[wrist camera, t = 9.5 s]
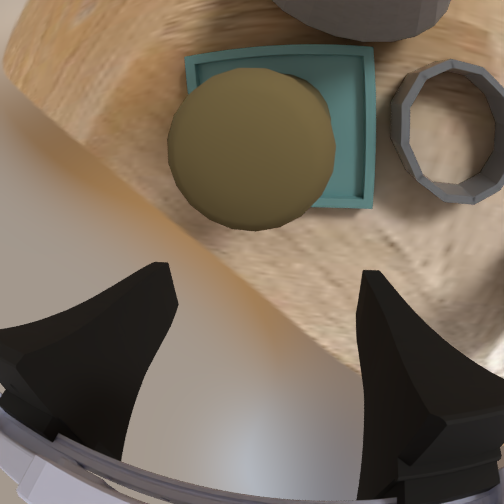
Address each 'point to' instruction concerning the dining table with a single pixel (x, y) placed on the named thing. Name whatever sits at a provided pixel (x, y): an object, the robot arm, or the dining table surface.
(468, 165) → the dining table surface
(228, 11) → the dining table surface
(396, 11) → the coffee pot
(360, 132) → the tray
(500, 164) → the ring
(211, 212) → the cork
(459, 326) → the dining table surface
